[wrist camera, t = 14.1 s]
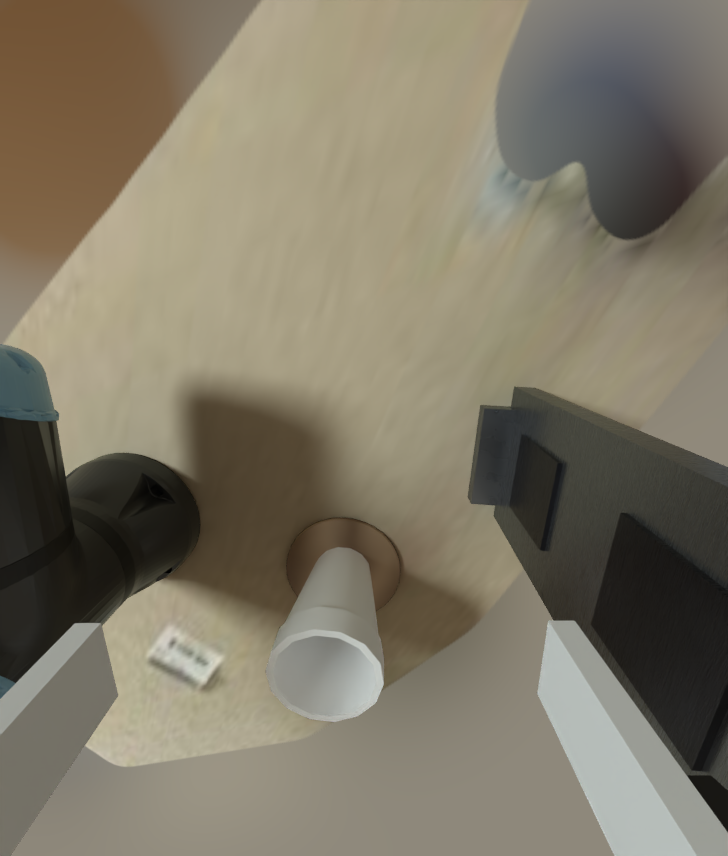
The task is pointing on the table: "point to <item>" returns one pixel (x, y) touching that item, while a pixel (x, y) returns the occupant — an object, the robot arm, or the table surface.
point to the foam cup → (330, 643)
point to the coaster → (346, 536)
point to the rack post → (621, 555)
